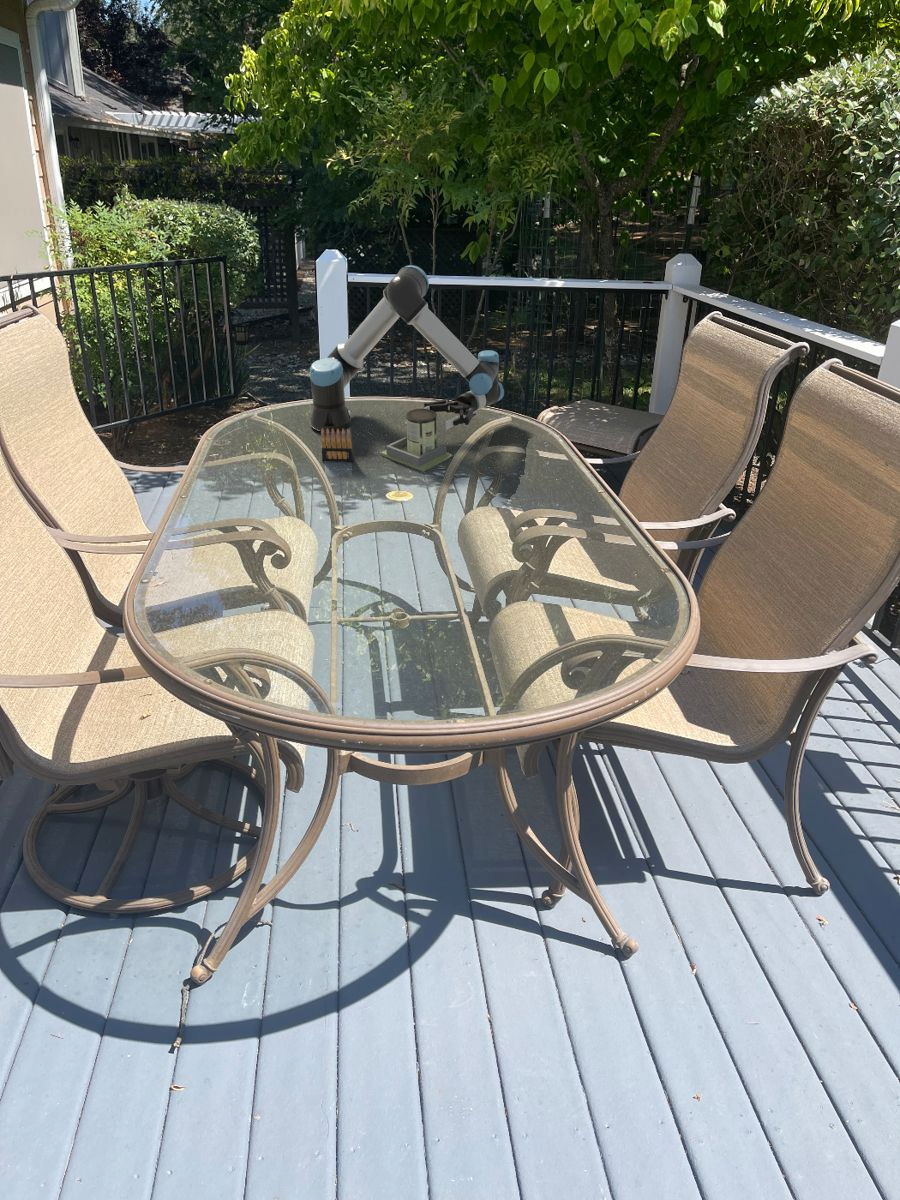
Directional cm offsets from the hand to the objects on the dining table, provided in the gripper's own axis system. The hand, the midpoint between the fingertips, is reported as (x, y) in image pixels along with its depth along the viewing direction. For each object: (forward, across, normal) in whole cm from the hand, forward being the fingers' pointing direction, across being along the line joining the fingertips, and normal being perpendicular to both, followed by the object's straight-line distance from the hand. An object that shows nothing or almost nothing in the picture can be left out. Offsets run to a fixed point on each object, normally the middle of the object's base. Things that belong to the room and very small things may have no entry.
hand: (430, 420), depth 303 cm
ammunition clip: (+28, +18, -11) cm, 35 cm away
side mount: (+7, 0, -11) cm, 13 cm away
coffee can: (+6, -1, -10) cm, 11 cm away
